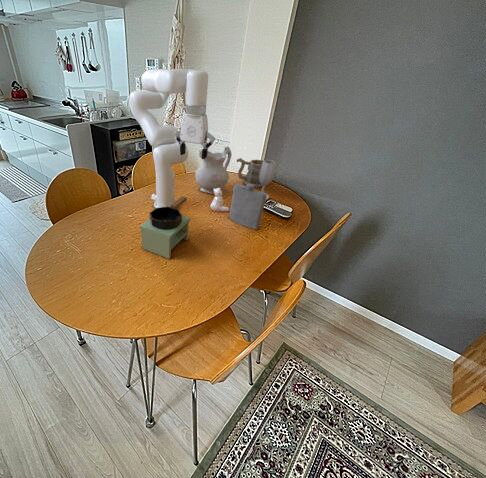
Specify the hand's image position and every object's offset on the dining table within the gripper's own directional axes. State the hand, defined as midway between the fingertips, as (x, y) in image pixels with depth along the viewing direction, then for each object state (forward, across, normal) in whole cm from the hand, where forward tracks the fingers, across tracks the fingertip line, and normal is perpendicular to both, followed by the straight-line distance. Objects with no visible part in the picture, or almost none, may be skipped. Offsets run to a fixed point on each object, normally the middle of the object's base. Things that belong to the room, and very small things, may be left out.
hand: (193, 156), depth 105 cm
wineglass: (+32, +22, +48) cm, 62 cm away
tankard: (+32, +9, +66) cm, 74 cm away
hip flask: (+32, +22, +14) cm, 42 cm away
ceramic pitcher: (+32, -7, +43) cm, 54 cm away
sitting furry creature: (+32, +6, +21) cm, 39 cm away
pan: (+21, -1, -15) cm, 26 cm away
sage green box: (+32, -1, -20) cm, 38 cm away
